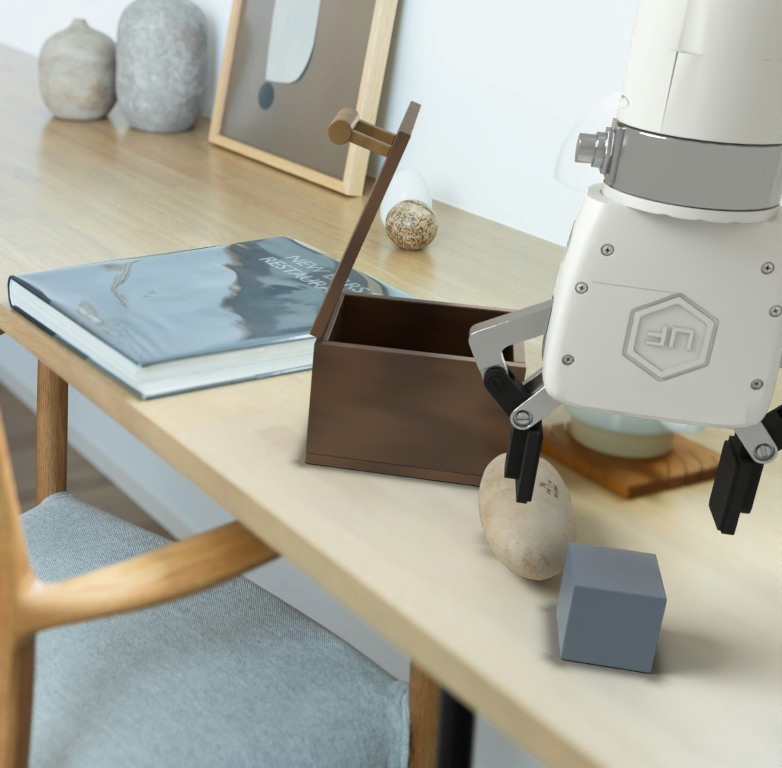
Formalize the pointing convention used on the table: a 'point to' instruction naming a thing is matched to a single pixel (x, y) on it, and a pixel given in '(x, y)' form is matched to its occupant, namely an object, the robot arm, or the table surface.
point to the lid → (393, 151)
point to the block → (610, 607)
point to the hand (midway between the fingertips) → (619, 506)
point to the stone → (527, 521)
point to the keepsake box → (405, 390)
